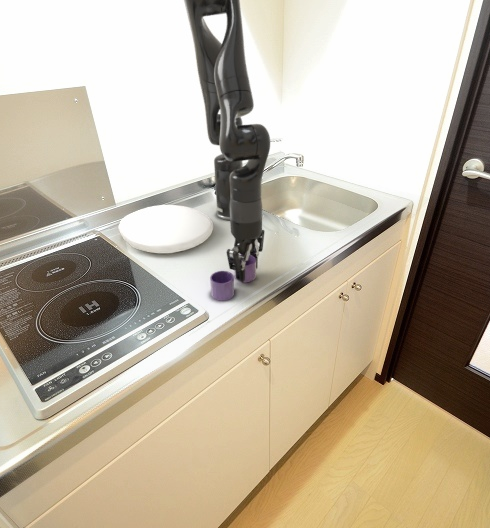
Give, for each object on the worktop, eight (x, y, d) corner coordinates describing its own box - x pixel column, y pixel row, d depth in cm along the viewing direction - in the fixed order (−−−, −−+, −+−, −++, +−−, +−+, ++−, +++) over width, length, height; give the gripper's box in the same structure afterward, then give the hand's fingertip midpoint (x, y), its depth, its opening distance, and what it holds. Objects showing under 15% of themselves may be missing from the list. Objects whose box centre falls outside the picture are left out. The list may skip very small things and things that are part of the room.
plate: (228, 216, 116) (173, 253, 97) (227, 233, 120) (174, 272, 100) (160, 190, 125) (96, 219, 106) (161, 207, 129) (100, 239, 109)
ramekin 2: (243, 267, 98) (243, 251, 95) (260, 274, 95) (260, 258, 93) (230, 277, 94) (229, 260, 91) (246, 284, 92) (246, 268, 89)
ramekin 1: (222, 284, 93) (221, 268, 90) (238, 292, 90) (238, 276, 88) (206, 295, 89) (205, 278, 87) (223, 303, 87) (222, 286, 84)
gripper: (248, 200, 92) (249, 257, 101) (214, 222, 81) (218, 284, 90) (274, 207, 89) (273, 265, 98) (243, 231, 78) (244, 293, 87)
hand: (247, 274), depth 94 cm, fingers closed on ramekin 2, 5 cm apart
